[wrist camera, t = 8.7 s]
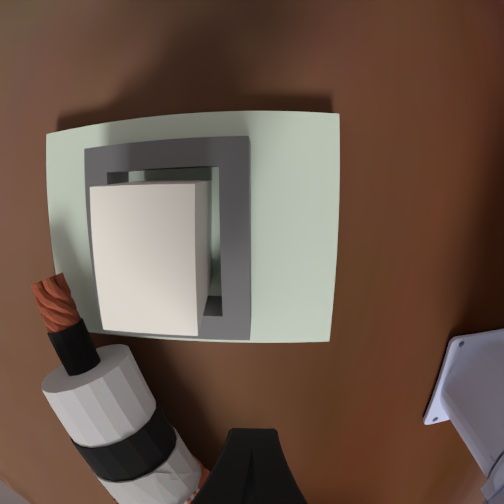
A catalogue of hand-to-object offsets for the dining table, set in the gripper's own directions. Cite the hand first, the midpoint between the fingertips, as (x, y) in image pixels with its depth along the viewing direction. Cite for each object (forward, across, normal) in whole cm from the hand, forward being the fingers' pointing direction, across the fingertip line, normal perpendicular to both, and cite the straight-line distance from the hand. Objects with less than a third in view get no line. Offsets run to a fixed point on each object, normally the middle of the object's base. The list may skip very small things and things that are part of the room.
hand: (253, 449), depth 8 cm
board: (+10, +4, -5) cm, 12 cm away
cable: (+10, +6, +13) cm, 17 cm away
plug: (+9, +4, -5) cm, 11 cm away
